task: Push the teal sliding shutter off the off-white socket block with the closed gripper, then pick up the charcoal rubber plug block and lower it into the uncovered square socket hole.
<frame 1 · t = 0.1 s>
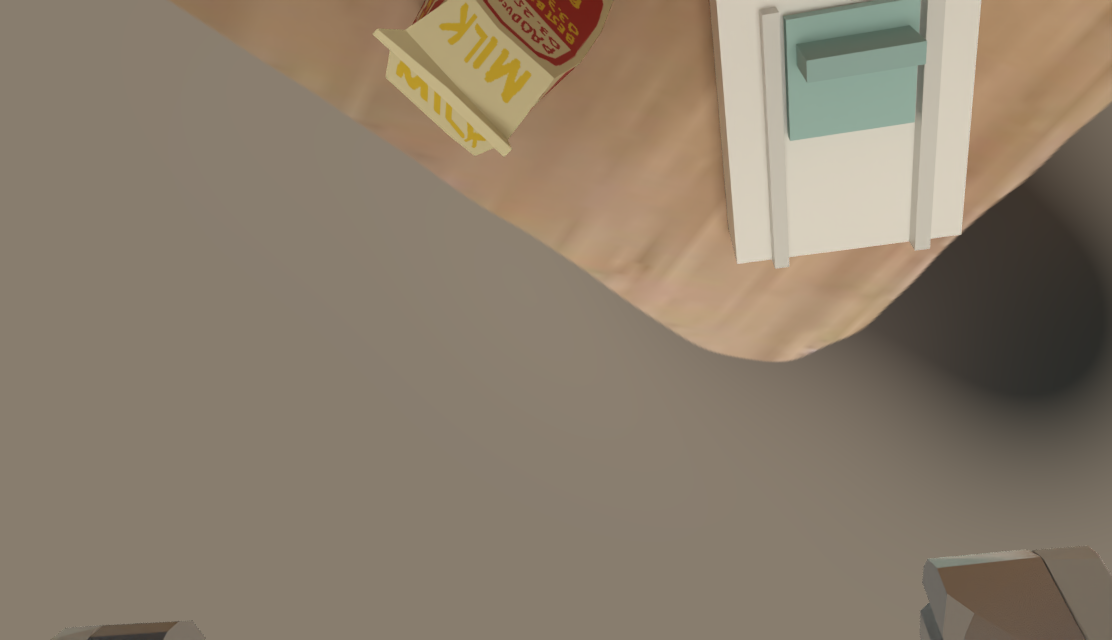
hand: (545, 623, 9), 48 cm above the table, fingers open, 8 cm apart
shutter: (856, 78, 46), point 7 cm above the table, slide at 0.0 cm
socket: (829, 88, 54), on the table
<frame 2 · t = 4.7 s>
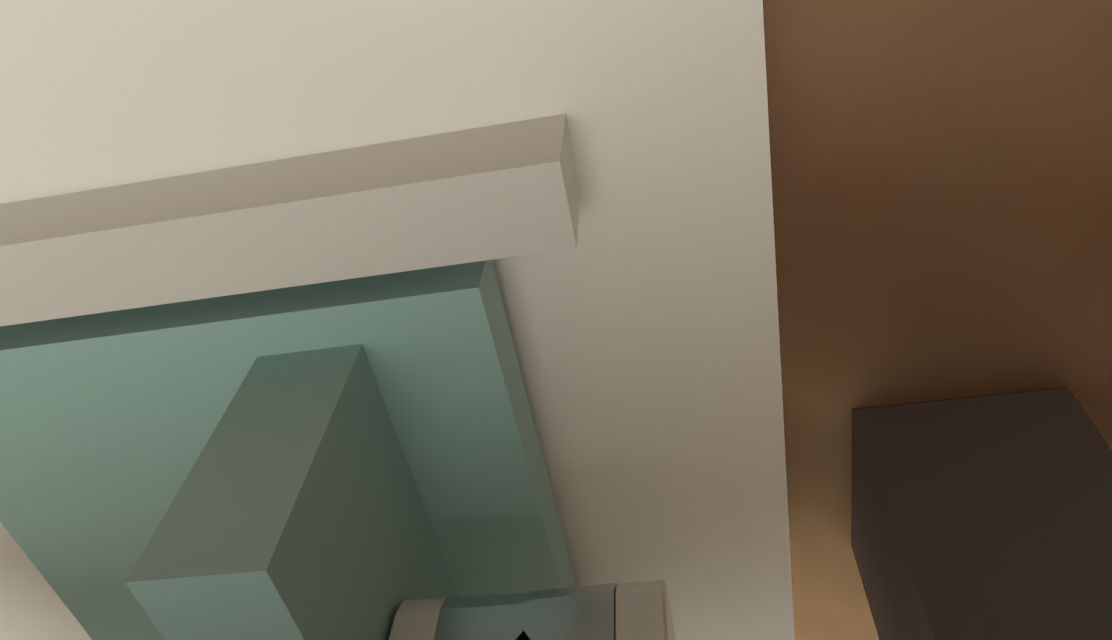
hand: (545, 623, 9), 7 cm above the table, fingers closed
shutter: (249, 622, 10), point 7 cm above the table, slide at 0.6 cm, touching gripper
socket: (265, 312, 16), on the table
plug: (950, 472, 18), on the table
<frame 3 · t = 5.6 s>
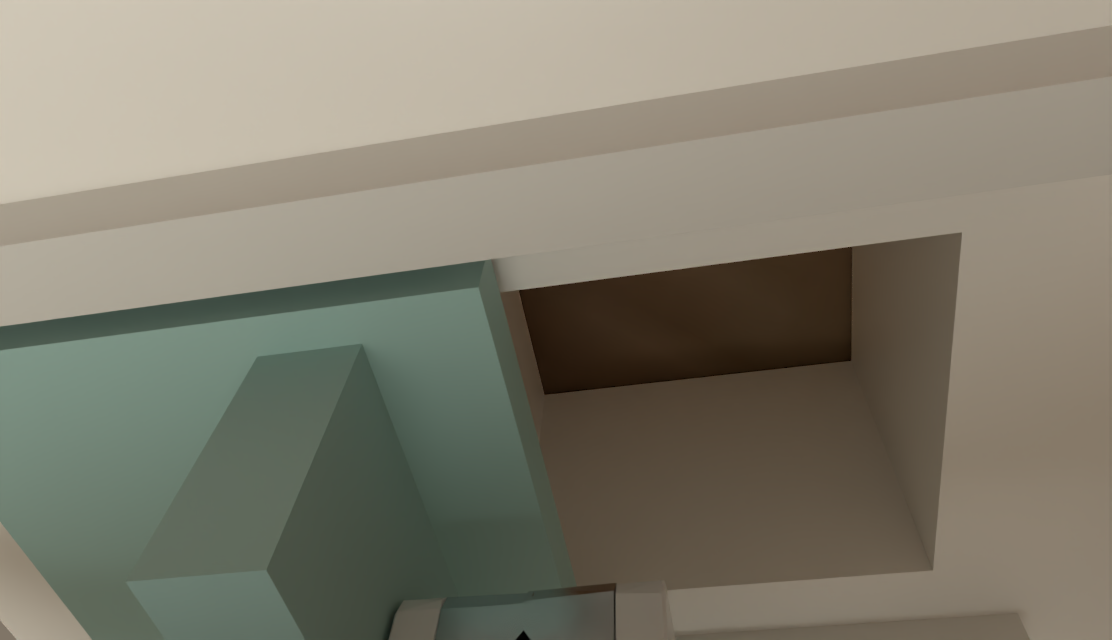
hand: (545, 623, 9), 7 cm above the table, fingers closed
shutter: (249, 622, 10), point 7 cm above the table, slide at 5.8 cm, touching gripper
socket: (529, 277, 16), on the table
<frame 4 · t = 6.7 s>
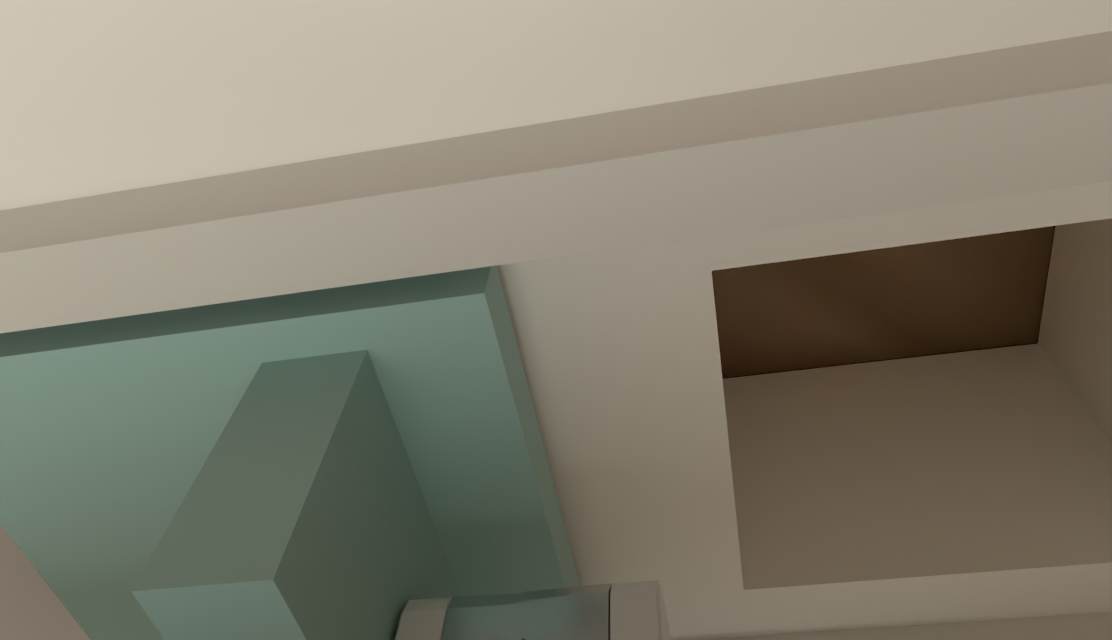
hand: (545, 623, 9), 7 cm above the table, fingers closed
shutter: (253, 629, 10), point 7 cm above the table, slide at 9.0 cm, touching gripper
socket: (711, 257, 15), on the table
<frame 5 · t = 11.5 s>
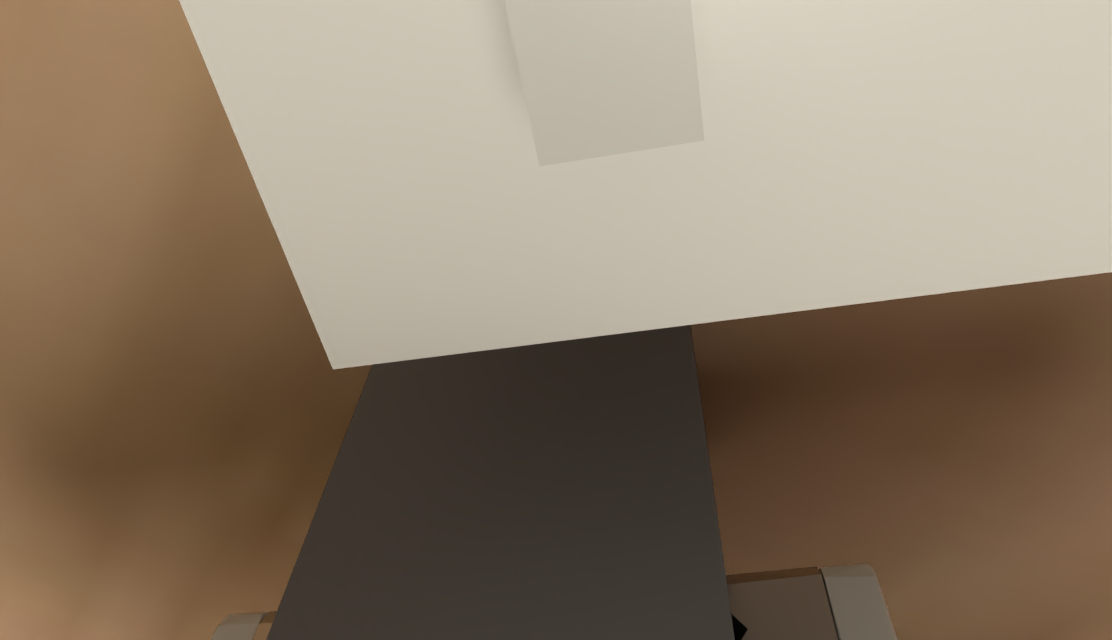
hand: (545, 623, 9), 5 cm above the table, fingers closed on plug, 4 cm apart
plug: (564, 369, 13), on the table, touching gripper
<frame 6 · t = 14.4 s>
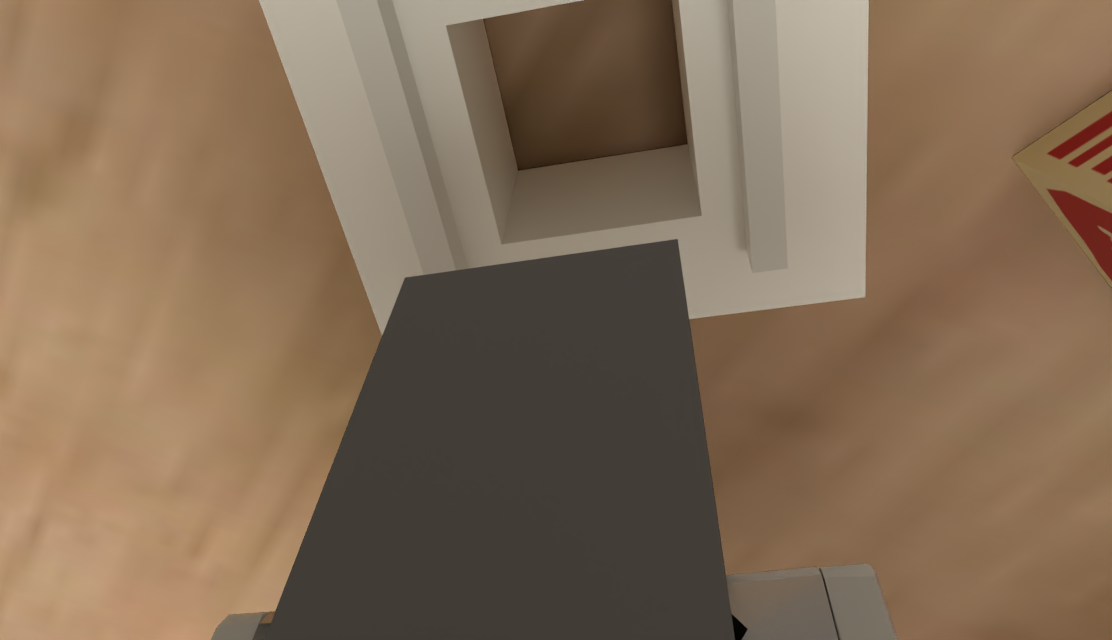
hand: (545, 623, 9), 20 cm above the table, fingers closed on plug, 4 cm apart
plug: (563, 368, 13), point 15 cm above the table, touching gripper
when the fingers open (7 cm above the table, at t = 17.5 s): plug drops 2 cm, resting in socket.
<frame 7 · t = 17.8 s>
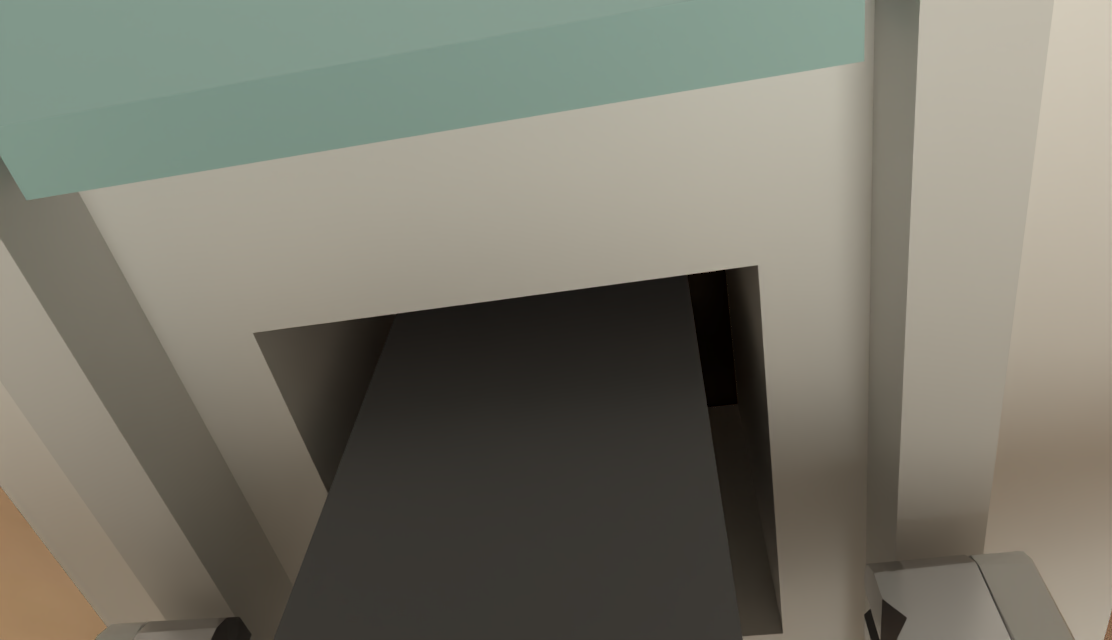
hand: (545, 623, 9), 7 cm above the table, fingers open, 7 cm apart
socket: (533, 141, 13), on the table
plug: (572, 300, 15), resting in socket
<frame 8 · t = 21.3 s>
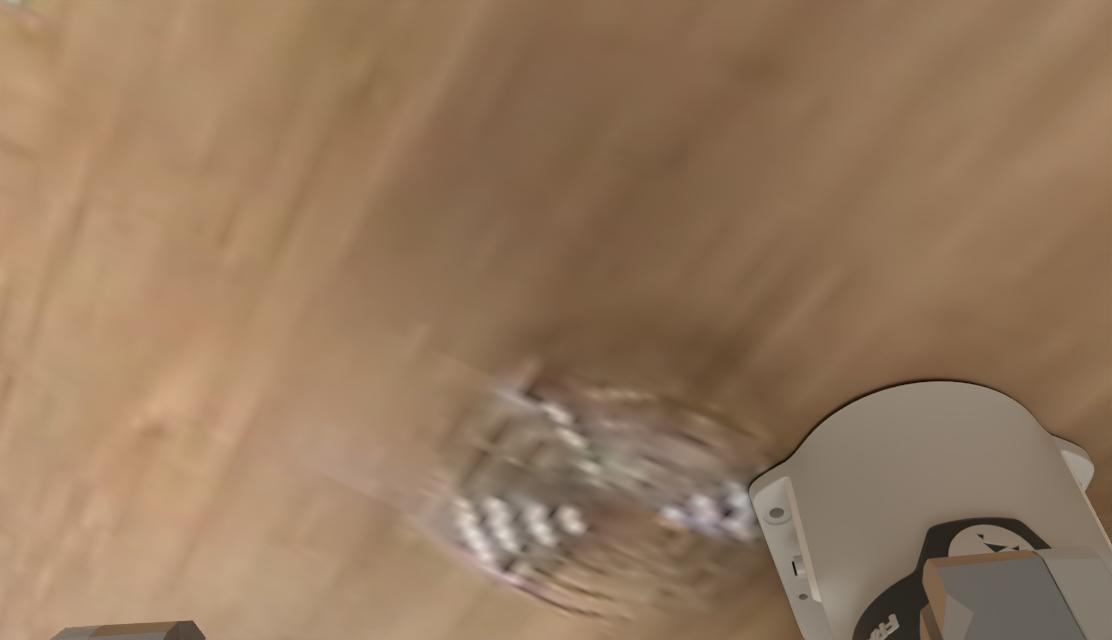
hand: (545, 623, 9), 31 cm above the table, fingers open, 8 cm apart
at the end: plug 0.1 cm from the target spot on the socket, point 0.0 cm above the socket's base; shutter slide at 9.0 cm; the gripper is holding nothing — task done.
